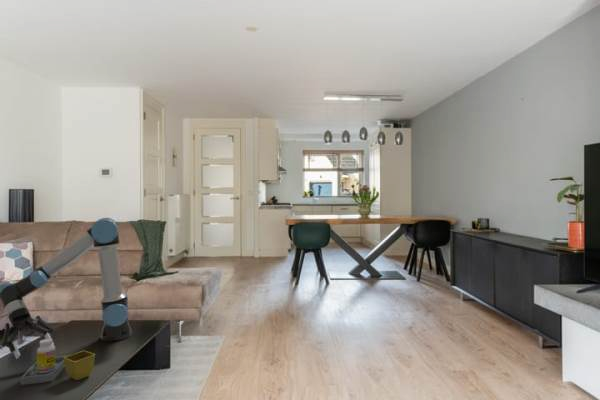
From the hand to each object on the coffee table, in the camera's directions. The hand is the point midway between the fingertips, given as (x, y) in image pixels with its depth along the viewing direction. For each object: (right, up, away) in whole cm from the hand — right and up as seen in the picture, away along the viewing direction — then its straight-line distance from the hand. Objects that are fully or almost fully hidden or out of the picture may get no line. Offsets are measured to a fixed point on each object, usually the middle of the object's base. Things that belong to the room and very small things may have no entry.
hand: (35, 351), depth 171 cm
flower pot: (+23, -8, -7) cm, 26 cm away
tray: (+6, -8, -3) cm, 10 cm away
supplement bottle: (+6, -7, -2) cm, 10 cm away
